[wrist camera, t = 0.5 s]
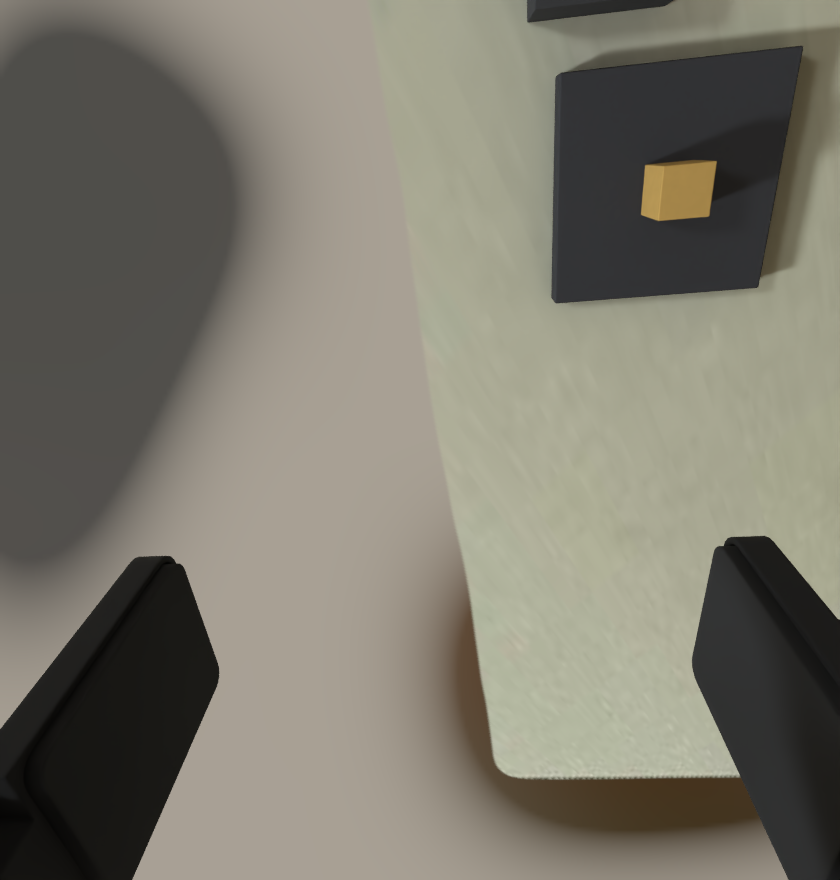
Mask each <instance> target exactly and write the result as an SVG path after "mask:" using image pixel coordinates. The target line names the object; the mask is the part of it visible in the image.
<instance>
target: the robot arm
mask: <svg viewBox="0 0 840 880" xmlns="http://www.w3.org/2000/svg"><path fill="white" fill-rule="evenodd" d="M692 667H693V672H694V676H695V679H696V681H697V684H698V686H699V688H700V690H701V692H702V694H703V696H704V699H705V701H706V703H707V705H708V707H709V709H710V712H711V714H712V716H713V718H714V720H715V722H716V724H717V727H718V729H719V731H720V733H721V735H722V737H723V740H724V742H725V744H726V746H727V748H728V750H729V752H730V755H731V757H732V759H733V761H734V763H735V765H736V768H737V770H738V772H739V774H740V776H741V778H742V780H743V783H744V784H745V787H746V789H747V791H748V793H749V795H750V798H751V800H752V802H753V804H754V806H755V808H756V810H757V812H758V815H759V817H760V819H761V821H762V823H763V826H764V828H765V830H766V832H767V834H768V836H769V838H770V841H771V843H772V845H773V847H774V849H775V851H776V853H777V856H778V858H779V860H780V862H781V864H782V866H783V869H784V871H785V873H786V875H787V877H788V879H789V880H840V620H839V619H837V618H836V616H835V615H834V614H833V613H832V612H831V610H830V609H829V608H828V607H827V606H826V604H825V603H824V602H823V601H822V600H821V598H820V597H819V596H818V595H817V594H816V592H815V591H814V590H813V589H812V588H811V586H810V585H809V584H808V583H807V581H806V580H805V579H804V578H803V577H802V575H801V574H800V573H799V572H798V571H797V569H796V568H795V567H794V566H793V565H792V563H791V562H790V561H789V560H788V559H787V557H786V556H785V555H784V554H783V553H782V551H781V550H780V549H779V548H778V547H777V545H776V544H775V543H774V542H773V541H772V540H771V539H770V538H769V537H766V536H751V537H730V538H728V539H727V540H726V541H725V544H724V546H719V547H717V548H716V549H715V551H714V554H713V559H712V564H711V569H710V574H709V578H708V583H707V588H706V593H705V598H704V603H703V608H702V613H701V617H700V622H699V627H698V632H697V637H696V642H695V647H694V652H693V657H692ZM218 679H219V666H218V663H217V660H216V657H215V654H214V651H213V648H212V646H211V643H210V640H209V637H208V634H207V631H206V629H205V626H204V623H203V620H202V617H201V615H200V612H199V609H198V606H197V603H196V600H195V597H194V595H193V592H192V589H191V586H190V583H189V580H188V578H187V575H186V572H185V569H184V567H183V566H182V565H181V564H176V562H175V560H174V559H173V558H172V557H170V556H149V557H137V558H135V559H134V560H133V561H132V562H131V563H130V564H129V565H128V566H127V568H126V569H125V570H124V572H123V573H122V574H121V575H120V577H119V578H118V579H117V580H116V582H115V583H114V584H113V586H112V587H111V588H110V590H109V591H108V592H107V594H106V595H105V596H104V597H103V598H102V600H101V601H100V602H99V604H98V605H97V606H96V608H95V609H94V610H93V611H92V613H91V614H90V615H89V616H88V618H87V619H86V620H85V622H84V623H83V624H82V625H81V627H80V628H79V629H78V630H77V632H76V633H75V634H74V636H73V637H72V638H71V639H70V641H69V642H68V643H67V645H66V646H65V647H64V648H63V650H62V651H61V652H60V654H59V655H58V656H57V657H56V659H55V660H54V661H53V663H52V664H51V665H50V666H49V668H48V669H47V670H46V672H45V673H44V674H43V675H42V677H41V678H40V679H39V680H38V682H37V683H36V684H35V686H34V687H33V688H32V689H31V691H30V692H29V693H28V695H27V696H26V697H25V698H24V700H23V701H22V702H21V704H20V705H19V706H18V708H17V709H16V710H15V711H14V712H13V714H12V715H11V717H10V718H9V719H8V720H7V721H6V723H5V724H4V725H3V727H2V728H1V729H0V880H132V879H133V877H134V874H135V872H136V870H137V867H138V865H139V863H140V860H141V858H142V856H143V854H144V851H145V849H146V847H147V845H148V842H149V840H150V838H151V835H152V833H153V831H154V829H155V826H156V824H157V822H158V819H159V817H160V815H161V813H162V810H163V808H164V806H165V803H166V801H167V799H168V797H169V794H170V792H171V790H172V787H173V785H174V783H175V781H176V778H177V776H178V774H179V771H180V769H181V767H182V764H183V762H184V760H185V758H186V756H187V753H188V751H189V748H190V746H191V744H192V742H193V739H194V737H195V735H196V733H197V730H198V728H199V726H200V724H201V721H202V719H203V717H204V714H205V712H206V710H207V708H208V705H209V703H210V701H211V698H212V696H213V694H214V692H215V689H216V687H217V684H218Z"/></svg>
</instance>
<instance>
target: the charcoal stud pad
mask: <svg viewBox="0 0 840 880" xmlns="http://www.w3.org/2000/svg"><path fill="white" fill-rule="evenodd" d="M802 51H803V46H795V47H786V48H778V49H769V50H760V51H751V52H742V53H733V54H724V55H715V56H706V57H697V58H688V59H679V60H671V61H662V62H653V63H644V64H635V65H626V66H617V67H608V68H599V69H590V70H581V71H573V72H564V73H560V74H559V75H558V76H556V82H555V136H554V190H553V243H552V299H553V300H554V302H555V303H567V302H580V301H593V300H606V299H619V298H632V297H645V296H658V295H671V294H684V293H696V292H709V291H722V290H735V289H748V288H757V287H758V285H759V280H760V274H761V269H762V264H763V258H764V253H765V248H766V242H767V237H768V232H769V227H770V221H771V216H772V211H773V205H774V200H775V195H776V189H777V184H778V179H779V173H780V168H781V163H782V157H783V152H784V147H785V141H786V136H787V131H788V125H789V120H790V115H791V109H792V104H793V99H794V93H795V88H796V83H797V77H798V72H799V67H800V62H801V56H802Z"/></svg>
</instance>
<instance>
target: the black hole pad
mask: <svg viewBox="0 0 840 880" xmlns="http://www.w3.org/2000/svg"><path fill="white" fill-rule="evenodd" d="M671 1H673V0H527V22H536V21H544V20H553V19H561V18H569V17H577V16H586V15H594V14H602V13H611V12H619V11H627V10H636V9H644V8H652V7H660V6H665V5H667V4H668V3H670V2H671Z"/></svg>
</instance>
